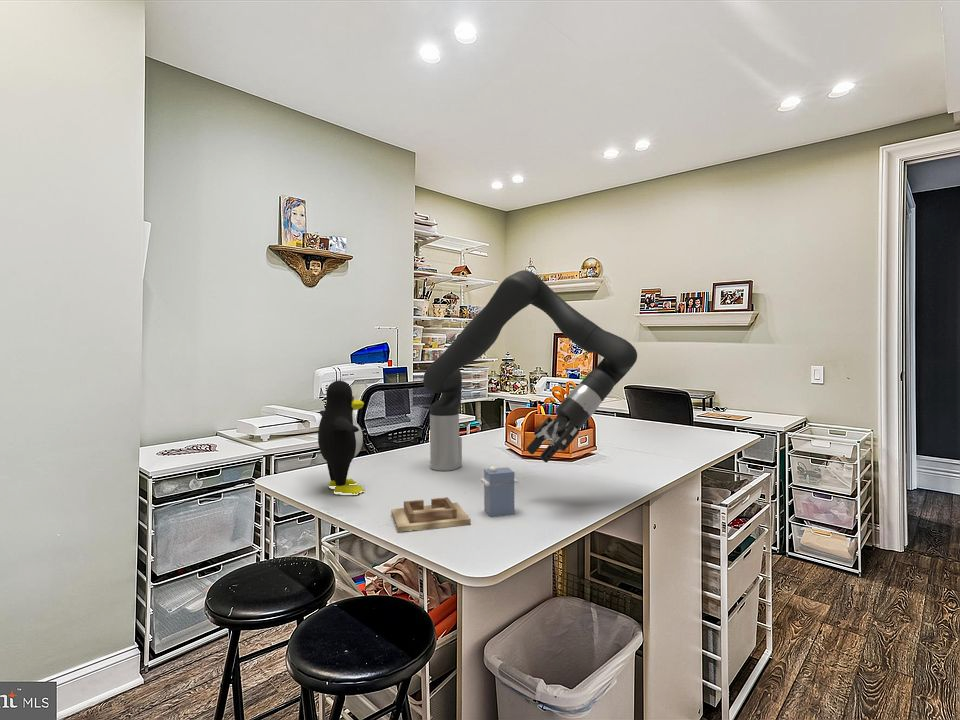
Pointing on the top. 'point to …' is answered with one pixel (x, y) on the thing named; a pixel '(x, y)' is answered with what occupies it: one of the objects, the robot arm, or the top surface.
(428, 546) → the top surface
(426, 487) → the top surface
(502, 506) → the servo block
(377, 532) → the top surface
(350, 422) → the toy
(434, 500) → the wooden fixture board
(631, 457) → the top surface
